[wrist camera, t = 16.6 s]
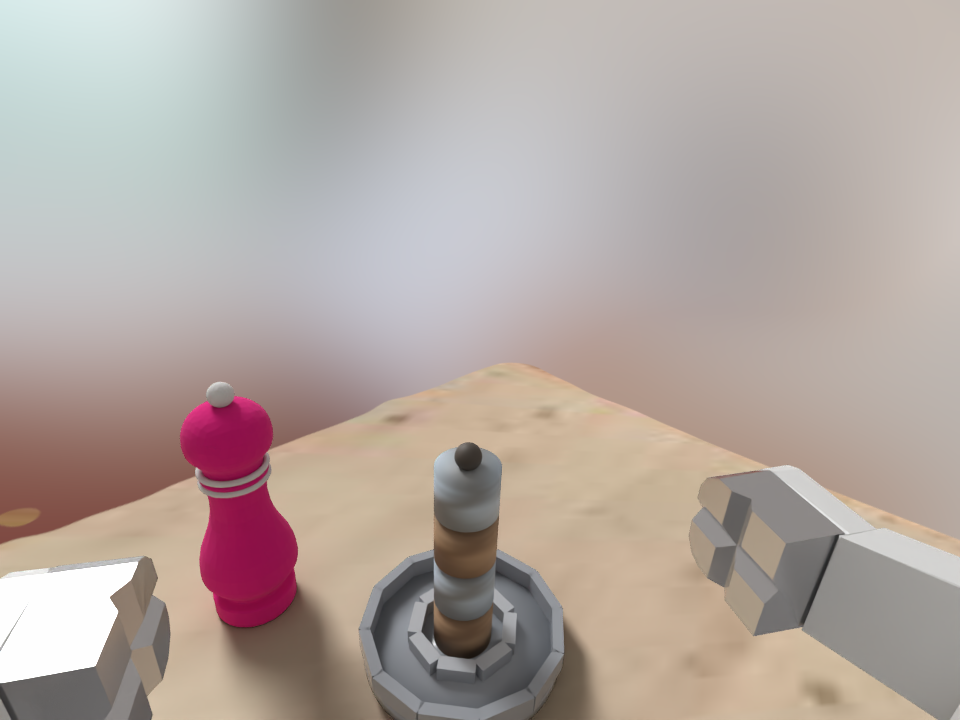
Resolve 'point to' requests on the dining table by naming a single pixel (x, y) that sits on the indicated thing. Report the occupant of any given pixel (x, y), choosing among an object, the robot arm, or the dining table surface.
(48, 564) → the dining table surface
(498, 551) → the tray
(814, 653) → the dining table surface
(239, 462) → the pepper mill
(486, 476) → the bead column
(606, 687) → the dining table surface
